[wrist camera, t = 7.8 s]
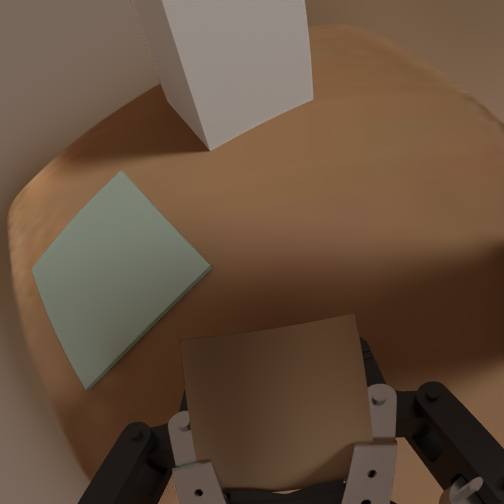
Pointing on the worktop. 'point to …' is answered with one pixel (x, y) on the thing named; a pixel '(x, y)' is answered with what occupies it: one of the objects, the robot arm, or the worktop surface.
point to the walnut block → (278, 403)
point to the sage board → (113, 277)
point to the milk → (228, 60)
